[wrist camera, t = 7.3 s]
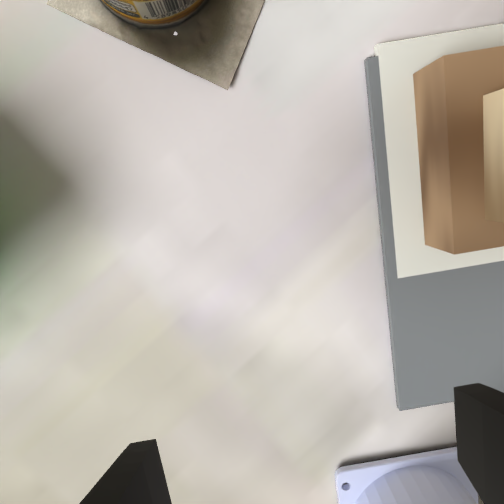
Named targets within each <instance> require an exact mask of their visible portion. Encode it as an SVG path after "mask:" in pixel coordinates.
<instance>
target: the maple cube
mask: <svg viewBox="0 0 504 504" xmlns="http://www.w3.org/2000/svg"><path fill="white" fill-rule="evenodd" d="M483 130H484V204H485V220H489V221H495V222H502V223H504V88H503V89H500V90H498V91H495V92H492V93H489V94H486V95H483Z"/></svg>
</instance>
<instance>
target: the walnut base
mask: <svg viewBox="0 0 504 504" xmlns="http://www.w3.org/2000/svg"><path fill="white" fill-rule="evenodd" d="M413 82H414V97H415V111H416V125H417V139H418V153H419V168H420V182H421V196H422V210H423V225H424V239H425V245H427V246H430V247H433V248H436V249H439V250H442V251H445V252H448V253H451V254H454V255H455V254H461V253H467V252H473V251H479V250H485V249H491V248H497V247H503V246H504V223H502V222H495V221H489V220H485V204H484V130H483V95H486V94H489V93H492V92H495V91H498V90H500V89H503V88H504V46H498V47H492V48H486V49H480V50H474V51H468V52H461V53H455V54H449V55H443V56H442V57H440V58H438V59H437V60H435V61H434V62H432V63H430V64H429V65H427V66H425V67H424V68H422V69H420V70H419V71H417V72H415V73H414V74H413Z"/></svg>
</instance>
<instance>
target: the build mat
mask: <svg viewBox="0 0 504 504" xmlns="http://www.w3.org/2000/svg"><path fill="white" fill-rule="evenodd" d="M498 46H504V23H502V24H496V25H490V26H483V27H477V28H471V29H465V30H459V31H453V32H447V33H440V34H434V35H428V36H422V37H416V38H410V39H404V40H397V41H391V42H385V43H379V44H377V45H376V46H375V47H374V53H375V57H369V58H367V59H365V60H364V62H365V73H366V83H367V94H368V105H369V115H370V126H371V137H372V147H373V158H374V168H375V179H376V190H377V200H378V211H379V222H380V232H381V243H382V254H383V264H384V275H385V285H386V296H387V307H388V317H389V328H390V339H391V349H392V360H393V370H394V381H395V392H396V402H397V407H398V409H399V410H400V411H402V410H408V409H414V408H420V407H425V406H431V405H437V404H443V403H449V402H454V387H457V386H463V385H469V384H474V383H481V384H483V385H486V386H489V387H491V388H494V389H496V390H498V391H501V392H503V393H504V246H503V247H497V248H491V249H485V250H479V251H473V252H467V253H461V254H455V255H454V254H451V253H448V252H445V251H442V250H439V249H436V248H433V247H430V246H427V245H425V239H424V225H423V210H422V196H421V182H420V168H419V153H418V139H417V125H416V111H415V97H414V82H413V74H414V73H415V72H417V71H419V70H420V69H422V68H424V67H425V66H427V65H429V64H430V63H432V62H434V61H435V60H437V59H438V58H440V57H442V56H443V55H449V54H455V53H461V52H468V51H474V50H480V49H486V48H492V47H498Z"/></svg>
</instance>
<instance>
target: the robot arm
mask: <svg viewBox="0 0 504 504" xmlns="http://www.w3.org/2000/svg"><path fill="white" fill-rule="evenodd" d="M454 404H455V422H456V440H457V447H452V448H446V449H441V450H435V451H429V452H424V453H418V454H412V455H406V456H401V457H395V458H389V459H383V460H378V461H372V462H366V463H360V464H355V465H349V466H343V467H340V468H338V469H337V470H336V472H335V481H336V489H337V496H338V503H339V504H479V503H478V494H479V496H480V498H481V499H482V501H483V502H484V504H504V393H503V392H501V391H498V390H496V389H494V388H491V387H489V386H486V385H483V384H481V383H474V384H469V385H463V386H457V387H454ZM343 483H347V484H345V485H342V484H343ZM80 504H172V503H171V499H170V495H169V491H168V487H167V483H166V479H165V475H164V471H163V467H162V463H161V459H160V455H159V451H158V446H157V442H156V439H153V440H147V441H141V442H136V443H130V444H129V445H128V447H127V448H126V449H125V450H124V451H123V452H122V453H121V455H120V456H119V457H118V458H117V459H116V461H115V462H114V463H113V464H112V465H111V467H110V468H109V469H108V470H107V471H106V473H105V474H104V475H103V476H102V477H101V479H100V480H99V481H98V482H97V483H96V485H95V486H94V487H93V488H92V489H91V491H90V492H89V493H88V494H87V495H86V496H85V498H84V499H83V500H82V501H81V502H80Z"/></svg>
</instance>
